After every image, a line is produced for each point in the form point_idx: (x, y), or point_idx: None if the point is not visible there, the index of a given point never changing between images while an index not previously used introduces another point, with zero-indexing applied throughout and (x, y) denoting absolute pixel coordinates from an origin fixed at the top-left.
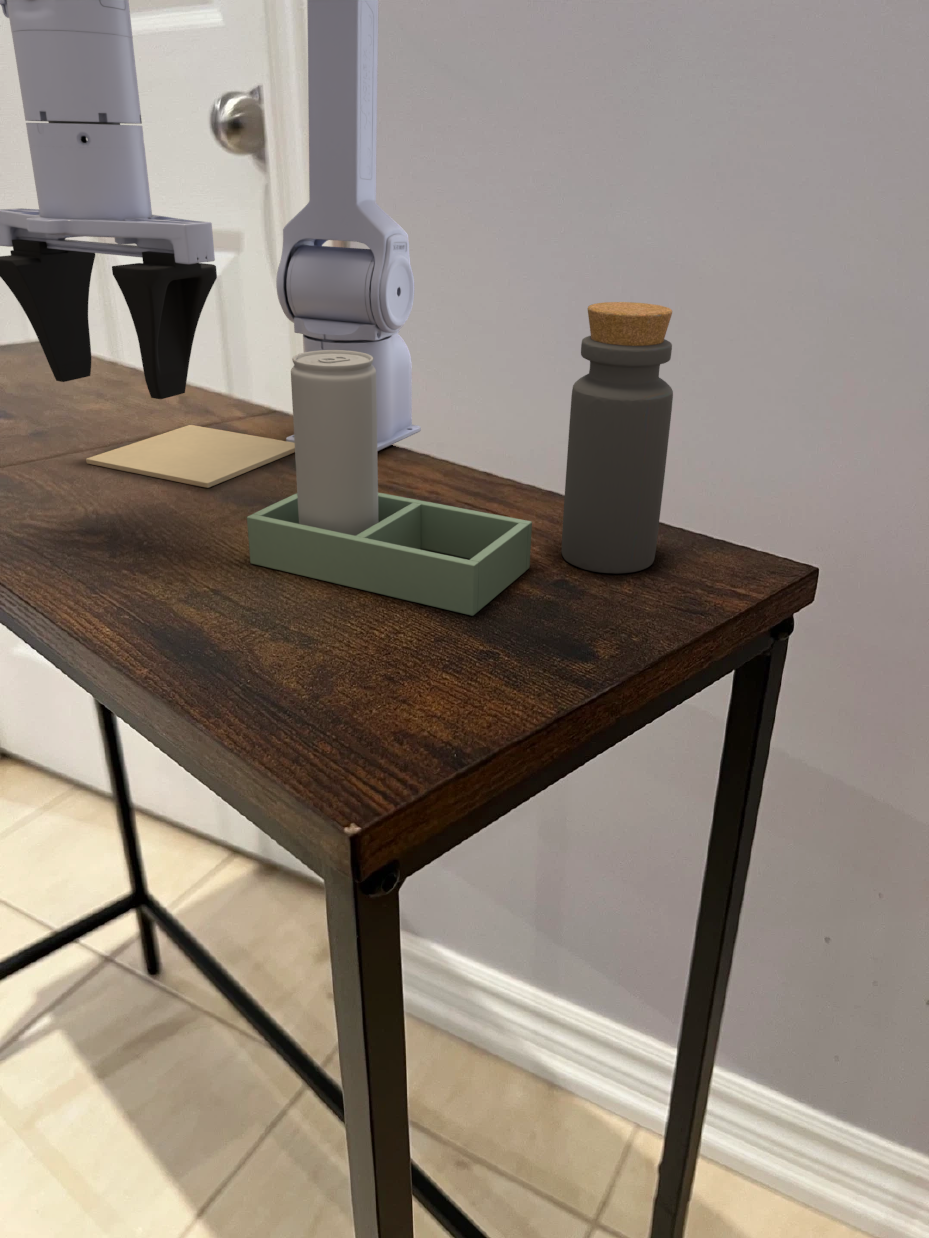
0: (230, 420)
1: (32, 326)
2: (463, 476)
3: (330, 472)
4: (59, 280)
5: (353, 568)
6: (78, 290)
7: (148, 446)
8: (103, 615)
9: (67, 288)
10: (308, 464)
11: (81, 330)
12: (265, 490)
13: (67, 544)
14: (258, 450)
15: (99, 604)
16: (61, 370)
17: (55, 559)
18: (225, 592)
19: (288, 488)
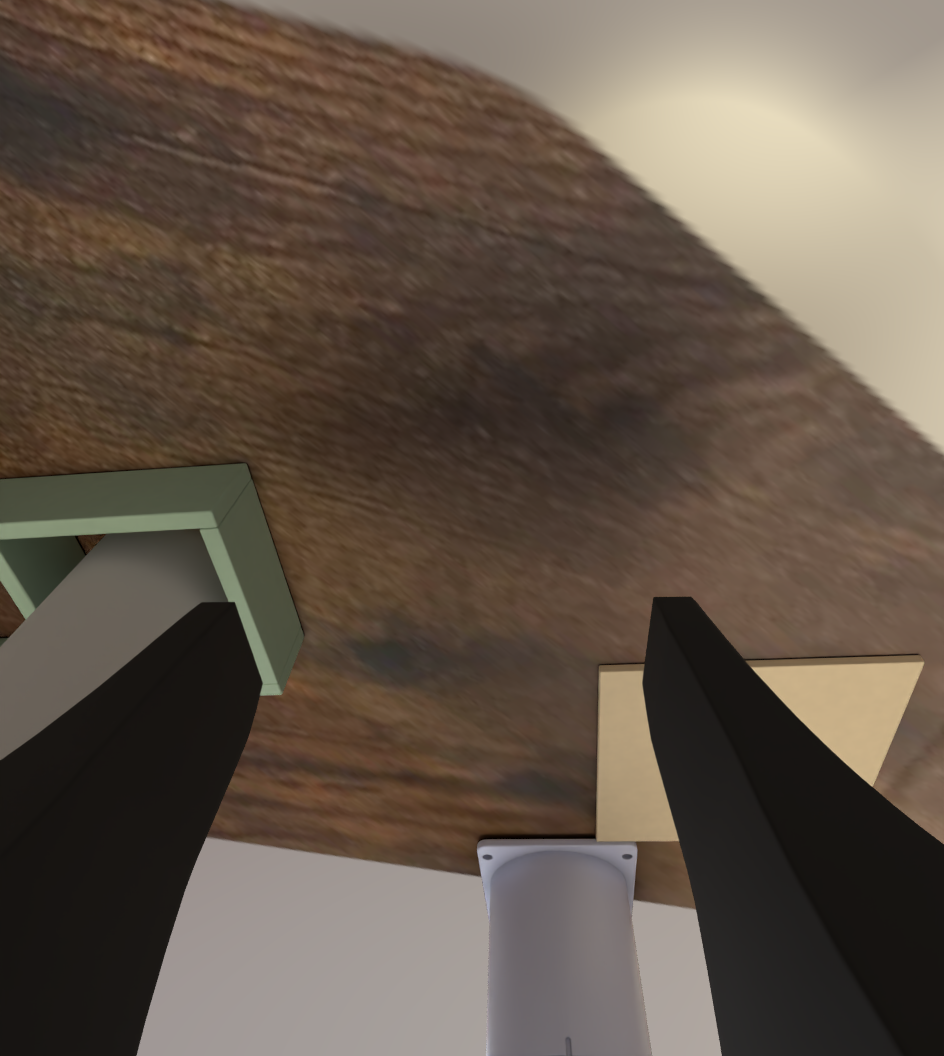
0: None
1: (815, 735)
2: (312, 837)
3: (15, 634)
4: (770, 1046)
5: (14, 494)
6: (730, 1014)
7: (846, 748)
8: (225, 107)
9: (746, 1007)
10: (49, 634)
11: (687, 822)
12: (506, 697)
13: (615, 340)
14: (640, 801)
15: (283, 146)
16: (661, 625)
17: (570, 266)
18: (164, 345)
19: (481, 717)
